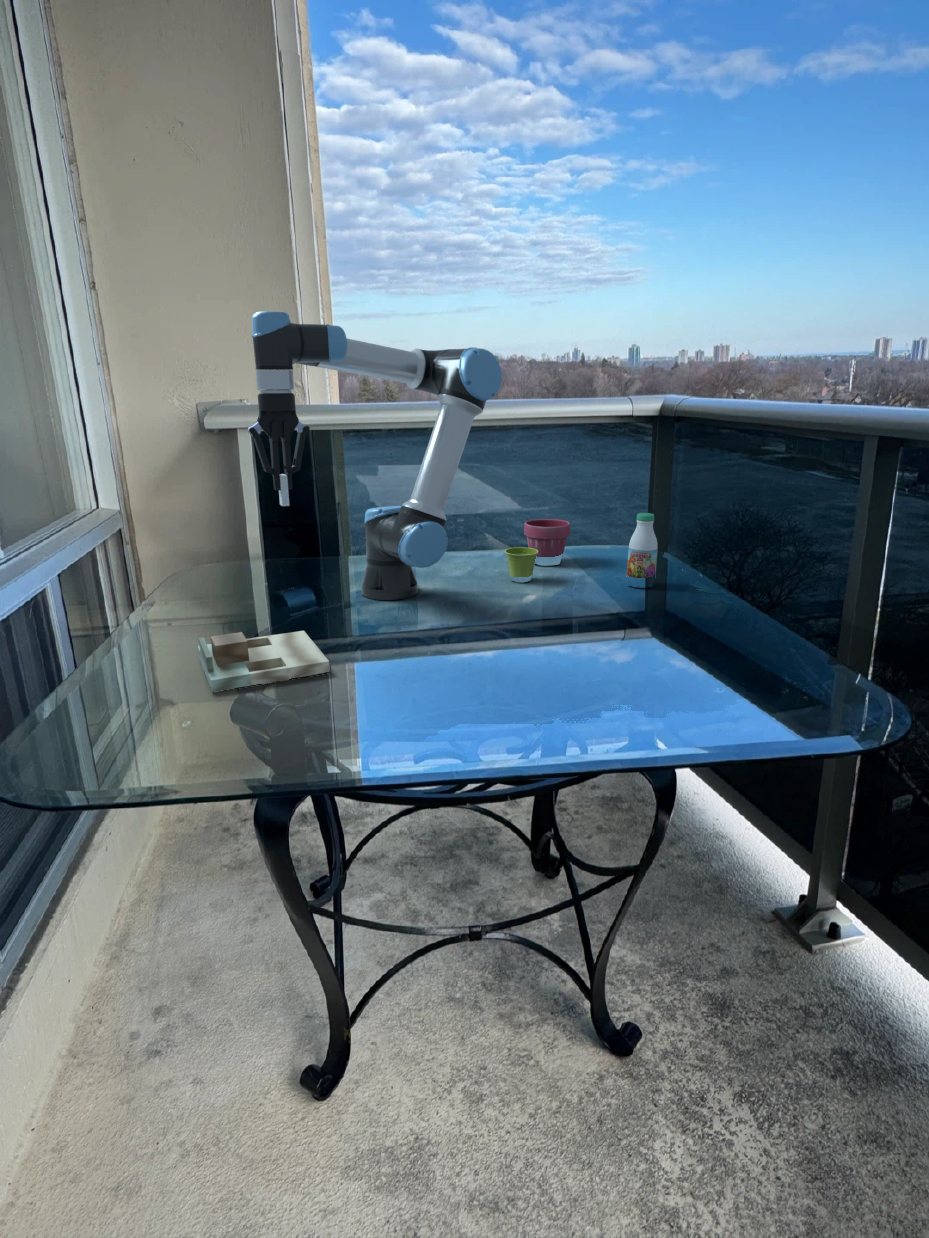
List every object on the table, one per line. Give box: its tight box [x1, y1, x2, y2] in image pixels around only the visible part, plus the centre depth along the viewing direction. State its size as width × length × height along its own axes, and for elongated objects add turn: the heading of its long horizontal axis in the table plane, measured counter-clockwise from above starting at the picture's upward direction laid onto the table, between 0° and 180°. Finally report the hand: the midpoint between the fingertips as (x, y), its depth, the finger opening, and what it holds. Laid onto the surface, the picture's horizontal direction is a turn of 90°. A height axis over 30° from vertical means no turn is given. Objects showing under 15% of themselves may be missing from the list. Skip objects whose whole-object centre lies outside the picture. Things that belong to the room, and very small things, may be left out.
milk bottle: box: [626, 512, 658, 578], centre depth 201 cm, size 8×8×20 cm
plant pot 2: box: [523, 518, 571, 557], centre depth 226 cm, size 14×14×13 cm
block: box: [210, 631, 249, 666], centre depth 144 cm, size 6×6×4 cm
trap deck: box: [197, 630, 331, 693], centre depth 147 cm, size 22×20×6 cm
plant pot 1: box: [504, 546, 538, 577], centre depth 207 cm, size 9×9×9 cm
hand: (284, 505), depth 161 cm, fingers closed
